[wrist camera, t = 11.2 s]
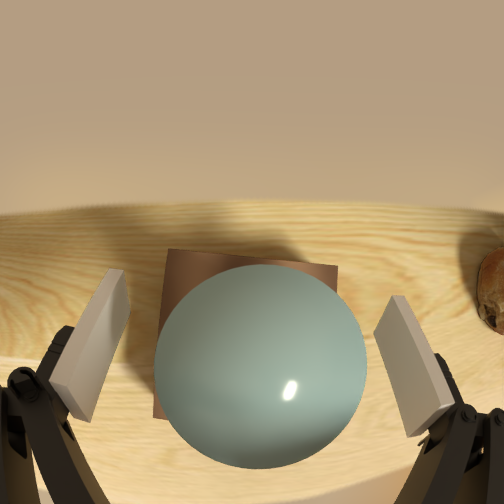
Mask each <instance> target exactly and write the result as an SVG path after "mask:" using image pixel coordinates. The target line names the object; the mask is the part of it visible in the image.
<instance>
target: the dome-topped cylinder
mask: <svg viewBox="0 0 504 504" xmlns="http://www.w3.org/2000/svg"><path fill="white" fill-rule="evenodd" d="M366 375H367V356H366V347H365V343H364V338H363V335H362V332H361V330H360V327H359V324H358V322H357V320H356V319H355V317H354V315H353V313H352V312H351V310H350V309H349V307H348V306H347V305H346V303H345V302H344V301H343V300H342V299H341V298H340V297H339V295H338V294H337V293H336V292H335V291H333V290H332V289H331V288H330V287H328V286H327V285H326V284H325V283H323V282H321V281H320V280H318V279H316V278H315V277H313V276H311V275H309V274H306V273H304V272H302V271H299V270H296V269H292V268H289V267H284V266H278V265H263V264H259V265H248V266H242V267H238V268H233V269H230V270H227V271H224V272H221V273H219V274H217V275H215V276H213V277H211V278H209V279H207V280H205V281H204V282H202V283H201V284H199V285H198V286H196V287H195V288H194V289H192V290H191V291H190V292H189V293H188V294H187V295H186V296H185V297H184V298H183V299H182V300H181V301H180V302H179V303H178V304H177V306H176V307H175V308H174V309H173V311H172V312H171V314H170V316H169V317H168V319H167V320H166V322H165V324H164V327H163V329H162V331H161V333H160V336H159V339H158V343H157V346H156V351H155V358H154V380H155V387H156V392H157V395H158V399H159V402H160V404H161V407H162V409H163V411H164V413H165V415H166V417H167V419H168V420H169V422H170V423H171V425H172V427H173V428H174V429H175V430H176V431H177V433H178V434H179V435H180V436H181V437H182V438H183V439H184V440H185V441H186V442H187V443H188V444H189V445H191V446H192V447H193V448H195V449H196V450H198V451H199V452H200V453H202V454H204V455H206V456H207V457H209V458H211V459H213V460H215V461H218V462H221V463H224V464H227V465H230V466H235V467H239V468H247V469H270V468H277V467H283V466H286V465H290V464H293V463H296V462H299V461H301V460H303V459H306V458H308V457H310V456H311V455H313V454H315V453H317V452H318V451H320V450H321V449H323V448H324V447H325V446H327V445H328V444H329V443H331V442H332V441H333V440H334V439H335V438H336V437H337V436H338V435H339V434H340V433H341V431H342V430H343V429H344V428H345V427H346V425H347V424H348V423H349V421H350V419H351V418H352V416H353V415H354V413H355V411H356V409H357V407H358V405H359V402H360V400H361V397H362V394H363V390H364V387H365V381H366Z"/></svg>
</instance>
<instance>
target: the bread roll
mask: <svg viewBox="0 0 504 504" xmlns="http://www.w3.org/2000/svg"><path fill="white" fill-rule="evenodd" d="M478 276H479V277H478V287H477V296H478V301H479V309H478V312H479V315H480V317H481V318H482V320H483V321H484V320H485V321H486V322H487V324H488V325H489V326H490V327H491V328H493V329H494V330H495V332H497V333H499V334H501V335H504V247H498V248H497V249H495V250H493V251H492V252H491V253H488V255H487V256H486V258H485V259H484V260H483V262H482V264H481V269H480V272H479V275H478Z"/></svg>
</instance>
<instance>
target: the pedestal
mask: <svg viewBox="0 0 504 504" xmlns="http://www.w3.org/2000/svg"><path fill="white" fill-rule="evenodd" d="M259 264H263V265H278V266H284V267H289V268H292V269H296V270H299V271H302V272H304V273H306V274H309V275H311V276H313V277H315V278H316V279H318V280H320V281H321V282H323V283H325V284H326V285H327V286H328V287H330V288H331V289H332V290H333V291H335V292H336V293H337V275H338V266H335V265H325V264H315V263H305V262H295V261H285V260H275V259H265V258H255V257H245V256H235V255H226V254H216V253H206V252H197V251H187V250H177V249H168V255H167V262H166V269H165V277H164V285H163V293H162V302H161V311H160V320H159V331H158V339H159V336H160V333H161V331H162V329H163V327H164V324H165V322H166V320H167V319H168V317H169V316H170V314H171V312H172V311H173V309H174V308H175V307H176V306H177V304H178V303H179V302H180V301H181V300H182V299H183V298H184V297H185V296H186V295H187V294H188V293H189V292H190V291H191V290H192V289H194V288H195V287H196V286H198V285H199V284H201V283H202V282H204V281H205V280H207V279H209V278H211V277H213V276H215V275H217V274H219V273H221V272H224V271H227V270H230V269H233V268H238V267H242V266H248V265H259ZM157 343H158V342H157ZM153 418H158V419H163V420H168V419H167V417H166V415H165V413H164V411H163V409H162V407H161V404H160V402H159V399H158V395H157V392H156V387H155V385H154V406H153Z"/></svg>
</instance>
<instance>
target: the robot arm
mask: <svg viewBox="0 0 504 504" xmlns="http://www.w3.org/2000/svg"><path fill="white" fill-rule="evenodd" d="M130 313H131V311H130V305H129V300H128V294H127V288H126V281H125V275H124V270H121V269H113V268H109V270H108V271H107V273H106V274H105V276H104V278H103V279H102V281H101V283H100V284H99V286H98V288H97V289H96V291H95V293H94V295H93V296H92V298H91V300H90V302H89V303H88V305H87V307H86V309H85V310H84V312H83V314H82V316H81V318H80V319H79V321H78V323H77V325H76V327H71V326H66V325H65V326H64V327H63V328H62V329H60V330H59V331H58V332H57V333H56V335H55V337H54V339H53V340H52V344H50V346H49V348H48V351H47V352H46V354H45V355H44V357H43V359H42V361H41V363H40V365H39V367H38V369H37V371H36V373H35V372H34V371H33V370H32V369H31V368H28V367H19V368H17V369H15V370H13V372H12V373H11V374H10V375H9V378H8V380H7V386H8V387H1V385H0V504H41V503H40V499H39V494H38V489H37V484H36V478H35V472H34V465H33V458H32V451H33V454H34V457H35V460H36V462H37V465H38V468H39V470H40V473H41V475H42V478H43V480H44V482H45V485H46V487H47V489H48V491H49V494H50V496H51V498H52V500H53V502H54V504H110V502H109V501H108V499H107V498H106V496H105V494H104V492H103V491H102V489H101V487H100V485H99V484H98V482H97V480H96V478H95V476H94V475H93V473H92V471H91V469H90V467H89V465H88V463H87V461H86V459H85V457H84V455H83V453H82V451H81V449H80V447H79V444H78V442H77V440H76V438H75V436H74V433H73V431H72V429H71V426H70V424H69V421H68V420H67V416H68V413H69V412H70V413H71V415H72V416H73V417H74V418H76V419H79V420H82V421H85V422H89V423H90V422H91V419H92V415H93V412H94V409H95V406H96V403H97V400H98V397H99V394H100V392H101V389H102V386H103V383H104V380H105V377H106V375H107V372H108V369H109V367H110V364H111V361H112V359H113V356H114V353H115V351H116V348H117V346H118V343H119V340H120V338H121V335H122V333H123V330H124V328H125V326H126V323H127V321H128V318H129V316H130ZM374 336H375V339H376V342H377V344H378V347H379V350H380V353H381V356H382V358H383V361H384V364H385V367H386V370H387V373H388V376H389V379H390V382H391V385H392V388H393V391H394V395H395V398H396V401H397V404H398V407H399V411H400V414H401V417H402V421H403V424H404V428H405V431H406V435H407V438H409V437H414V436H418V435H421V434H422V433H424V432H425V431H426V430H427V429H428V430H429V433H430V434H429V435H428V436H426V437H425V438H424V439H423V440H422V441H420V442H419V444H418V445H417V446H420V445H421V444H423V443H424V444H423V446H422V449H421V451H420V453H419V455H418V458H417V460H416V462H415V464H414V466H413V468H412V470H411V472H410V475H409V477H408V479H407V480H406V483H405V484H404V487H403V488H402V490H401V492H400V494H399V495H398V497H397V499H396V501H395V503H394V504H504V411H503V410H502V409H500V408H495V409H493V410H492V411H491V412H490V413H489V414H483V413H477V411H476V410H475V408H474V407H472V406H471V405H469V404H465V403H464V402H463V399H462V397H461V395H460V392H459V390H458V388H457V385H456V383H455V381H454V379H453V378H452V374H451V372H450V371H449V368H448V366H447V364H446V361H445V360H444V359H443V358H442V357H441V356H440V354H439V353H435V354H434V353H433V351H432V349H431V347H430V345H429V343H428V341H427V339H426V337H425V335H424V333H423V331H422V329H421V327H420V325H419V323H418V321H417V319H416V317H415V315H414V313H413V311H412V309H411V308H410V306H409V304H408V302H407V300H406V298H405V296H397V295H392V296H391V299H390V301H389V303H388V305H387V307H386V309H385V311H384V313H383V315H382V317H381V319H380V321H379V323H378V325H377V327H376V329H375V331H374ZM483 447H484V449H483V450H484V451H483V453H482V452H481V450H482V448H483ZM31 449H32V450H31Z"/></svg>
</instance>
